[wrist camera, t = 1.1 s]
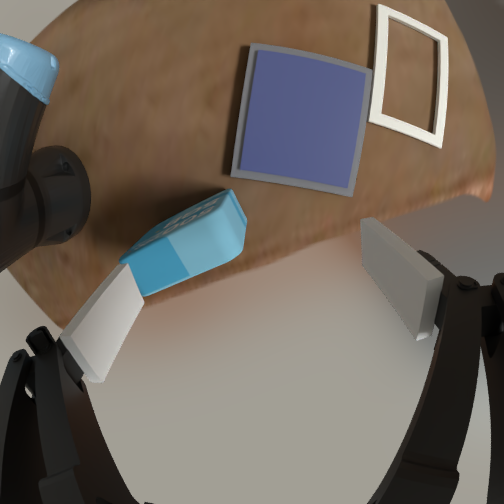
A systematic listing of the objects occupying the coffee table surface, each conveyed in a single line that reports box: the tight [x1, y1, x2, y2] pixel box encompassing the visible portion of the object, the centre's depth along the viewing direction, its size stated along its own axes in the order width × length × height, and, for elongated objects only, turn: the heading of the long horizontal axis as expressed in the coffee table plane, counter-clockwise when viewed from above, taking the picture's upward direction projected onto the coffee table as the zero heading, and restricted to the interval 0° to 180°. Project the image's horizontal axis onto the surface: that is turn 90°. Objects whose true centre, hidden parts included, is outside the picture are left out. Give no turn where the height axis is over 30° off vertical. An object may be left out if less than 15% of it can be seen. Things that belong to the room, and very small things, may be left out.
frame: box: [367, 4, 448, 148], centre depth 25 cm, size 12×19×1 cm, turn 172°
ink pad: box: [231, 43, 373, 197], centre depth 29 cm, size 15×17×2 cm
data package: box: [119, 189, 247, 296], centre depth 29 cm, size 12×4×12 cm, turn 115°
